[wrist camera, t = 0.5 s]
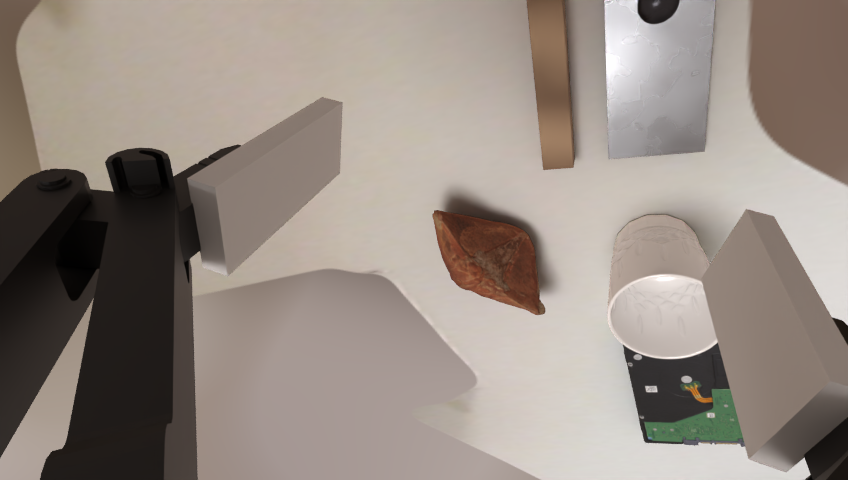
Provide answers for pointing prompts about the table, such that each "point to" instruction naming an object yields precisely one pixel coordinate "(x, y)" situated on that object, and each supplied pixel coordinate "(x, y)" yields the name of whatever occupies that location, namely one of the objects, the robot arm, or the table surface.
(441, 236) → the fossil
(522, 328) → the table surface
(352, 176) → the table surface
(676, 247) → the white cup
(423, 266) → the table surface
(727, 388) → the disk drive
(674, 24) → the metal board
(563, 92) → the beam
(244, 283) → the table surface
